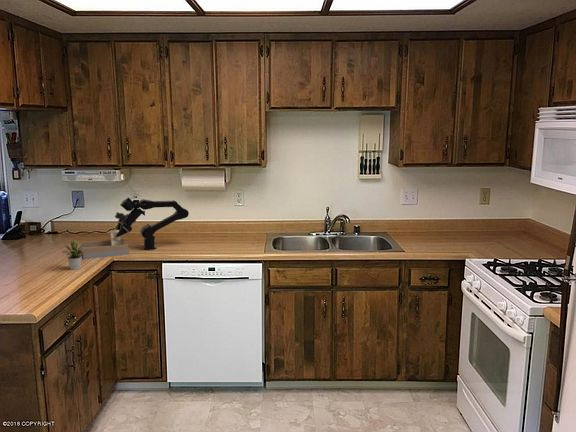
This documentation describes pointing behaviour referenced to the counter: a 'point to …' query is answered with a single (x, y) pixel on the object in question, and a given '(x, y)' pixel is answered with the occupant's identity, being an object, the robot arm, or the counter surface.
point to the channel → (103, 249)
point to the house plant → (74, 256)
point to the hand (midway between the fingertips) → (115, 235)
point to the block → (115, 238)
